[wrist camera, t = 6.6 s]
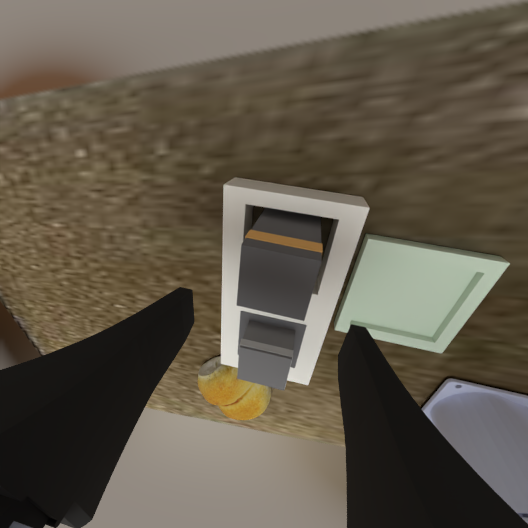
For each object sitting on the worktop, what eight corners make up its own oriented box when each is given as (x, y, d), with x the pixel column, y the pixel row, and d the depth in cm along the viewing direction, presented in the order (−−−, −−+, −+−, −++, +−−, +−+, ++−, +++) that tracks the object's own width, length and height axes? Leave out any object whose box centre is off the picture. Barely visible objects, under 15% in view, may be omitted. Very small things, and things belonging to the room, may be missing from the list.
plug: (321, 213, 17) (322, 260, 11) (309, 261, 19) (304, 322, 14) (266, 203, 18) (240, 243, 12) (260, 251, 20) (235, 305, 14)
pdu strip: (362, 196, 16) (380, 226, 11) (309, 363, 25) (306, 417, 21) (235, 177, 17) (204, 196, 12) (228, 344, 26) (209, 391, 22)
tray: (500, 256, 16) (510, 263, 15) (436, 344, 21) (441, 353, 20) (365, 233, 17) (368, 238, 16) (334, 322, 22) (334, 330, 21)
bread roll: (238, 404, 33) (229, 436, 29) (193, 363, 30) (178, 393, 27) (287, 391, 29) (283, 426, 26) (242, 344, 26) (231, 376, 23)
